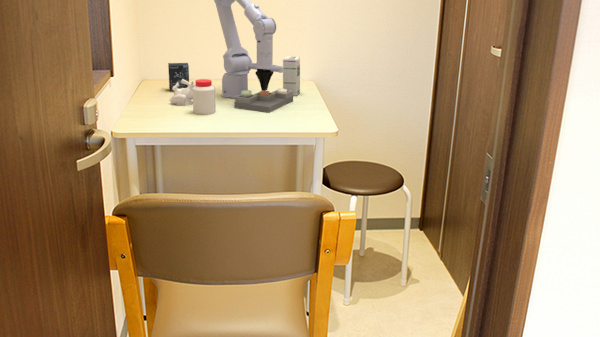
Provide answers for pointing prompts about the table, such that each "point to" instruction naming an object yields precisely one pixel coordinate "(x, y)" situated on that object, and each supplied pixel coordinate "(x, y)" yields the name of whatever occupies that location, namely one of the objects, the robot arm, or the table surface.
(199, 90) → the pill bottle
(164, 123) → the table surface
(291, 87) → the syrup box
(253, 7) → the robot arm
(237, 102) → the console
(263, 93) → the button terracotta
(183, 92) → the rabbit figurine
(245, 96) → the button sage
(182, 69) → the box
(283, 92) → the button cream
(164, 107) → the table surface
